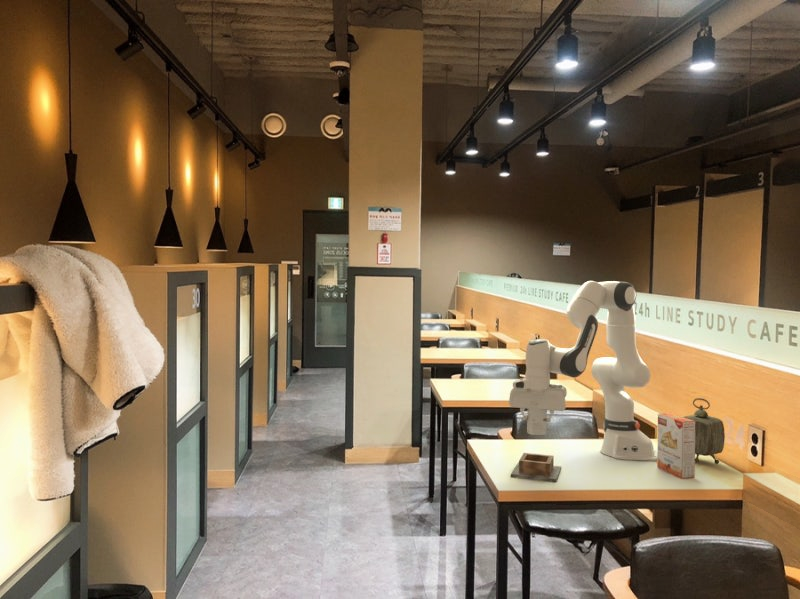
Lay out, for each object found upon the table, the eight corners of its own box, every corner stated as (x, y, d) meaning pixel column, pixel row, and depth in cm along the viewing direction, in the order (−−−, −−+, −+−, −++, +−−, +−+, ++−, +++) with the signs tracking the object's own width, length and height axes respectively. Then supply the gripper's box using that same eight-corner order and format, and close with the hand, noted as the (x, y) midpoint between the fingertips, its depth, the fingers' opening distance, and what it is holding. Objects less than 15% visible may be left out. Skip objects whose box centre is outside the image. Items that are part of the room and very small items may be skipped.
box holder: (561, 469, 231) (561, 454, 231) (556, 482, 216) (556, 466, 216) (518, 464, 236) (518, 450, 236) (510, 476, 221) (510, 461, 221)
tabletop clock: (724, 464, 237) (725, 400, 237) (710, 468, 233) (711, 402, 232) (689, 455, 250) (690, 394, 249) (675, 458, 245) (676, 396, 245)
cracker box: (656, 467, 233) (657, 413, 233) (669, 466, 235) (670, 412, 234) (680, 479, 220) (681, 421, 219) (695, 478, 221) (696, 420, 220)
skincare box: (531, 435, 223) (532, 402, 222) (526, 432, 227) (526, 399, 227) (547, 434, 224) (547, 401, 224) (541, 431, 228) (542, 399, 228)
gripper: (567, 384, 224) (566, 421, 225) (511, 380, 232) (511, 416, 232) (565, 386, 219) (565, 425, 219) (508, 382, 226) (507, 420, 226)
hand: (536, 420), depth 225 cm, fingers closed on skincare box, 7 cm apart
